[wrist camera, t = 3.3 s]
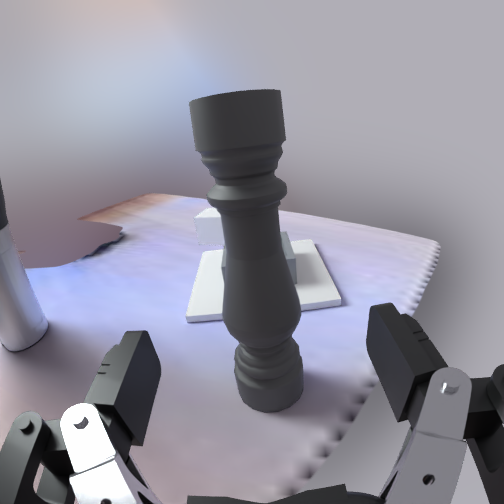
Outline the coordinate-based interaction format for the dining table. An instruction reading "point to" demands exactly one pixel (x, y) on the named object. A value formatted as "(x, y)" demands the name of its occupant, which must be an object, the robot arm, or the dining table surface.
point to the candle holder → (252, 241)
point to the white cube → (209, 227)
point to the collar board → (301, 267)
